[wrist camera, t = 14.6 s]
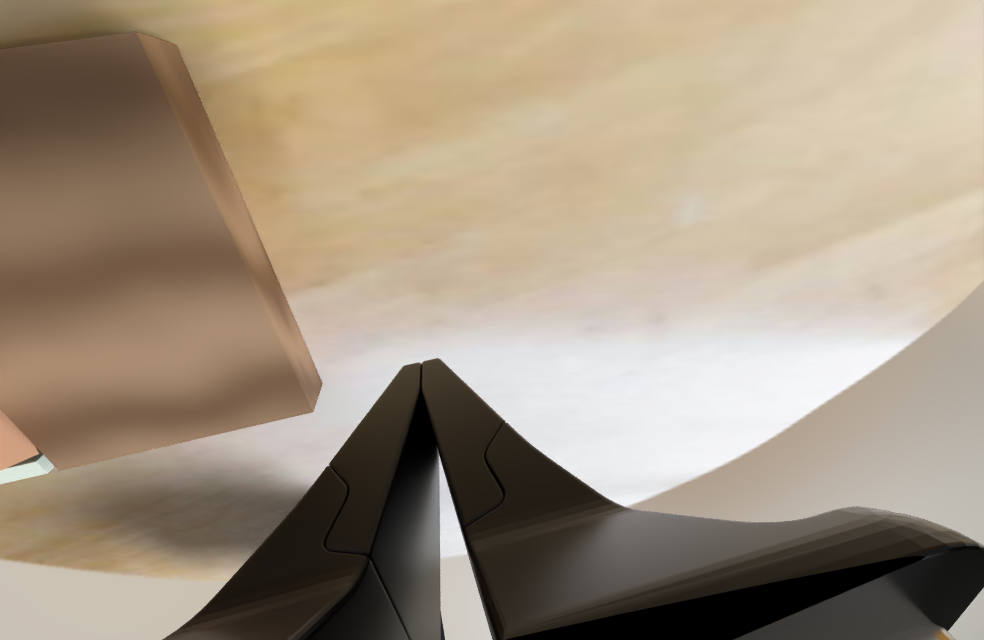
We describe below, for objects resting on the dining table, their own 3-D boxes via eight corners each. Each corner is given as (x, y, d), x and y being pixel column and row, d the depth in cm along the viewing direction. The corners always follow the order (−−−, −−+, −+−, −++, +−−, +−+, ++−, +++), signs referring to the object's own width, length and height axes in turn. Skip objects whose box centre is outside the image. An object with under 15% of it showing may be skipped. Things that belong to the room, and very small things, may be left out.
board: (322, 383, 22) (313, 412, 20) (95, 434, 21) (59, 470, 19) (176, 44, 15) (136, 31, 13) (-191, 93, 14) (-307, 88, 11)
